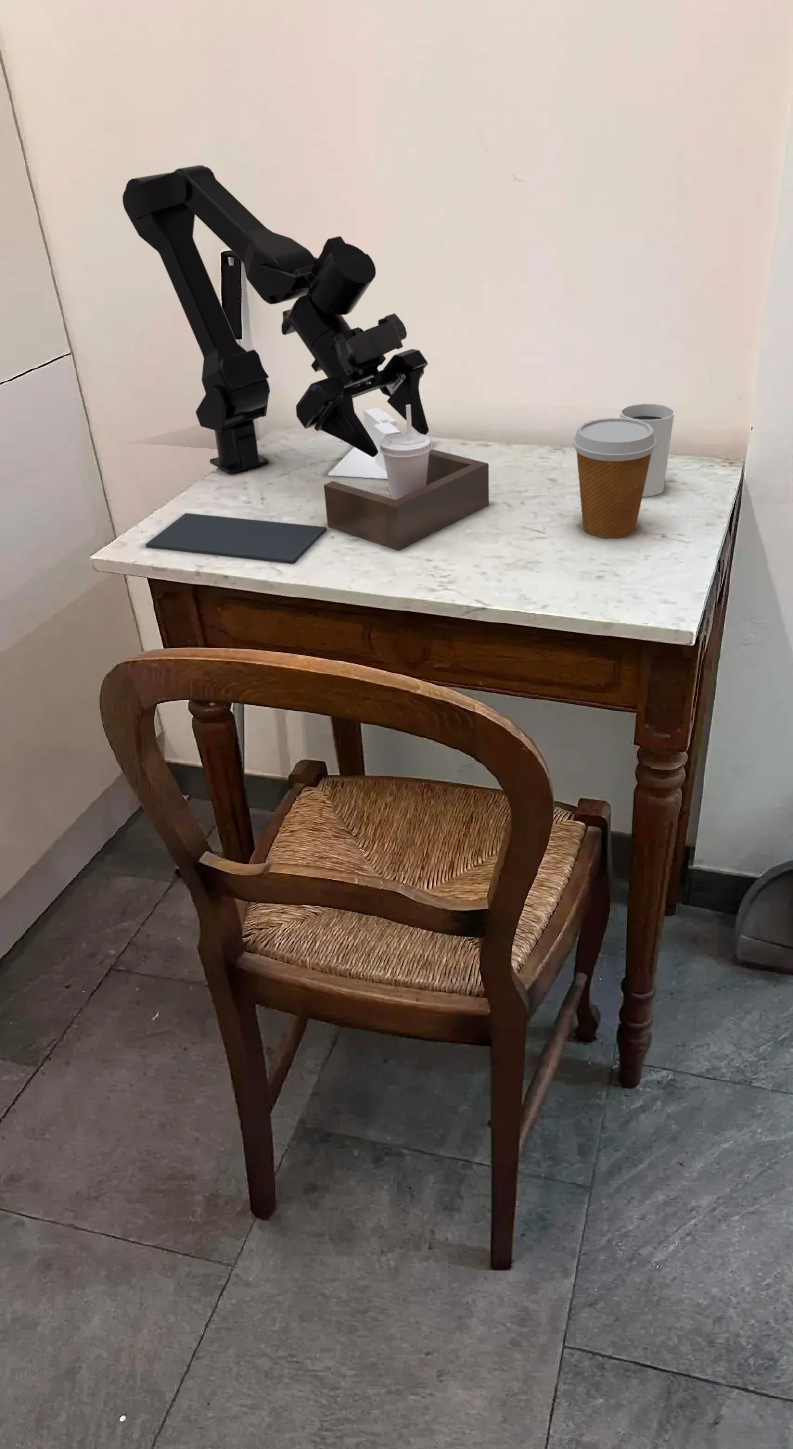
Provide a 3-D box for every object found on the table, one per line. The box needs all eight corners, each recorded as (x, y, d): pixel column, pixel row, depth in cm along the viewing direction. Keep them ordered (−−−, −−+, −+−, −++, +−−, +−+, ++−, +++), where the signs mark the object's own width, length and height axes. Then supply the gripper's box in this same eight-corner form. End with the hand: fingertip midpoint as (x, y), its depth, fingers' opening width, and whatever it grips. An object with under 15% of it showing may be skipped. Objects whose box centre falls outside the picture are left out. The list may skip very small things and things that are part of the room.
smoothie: (429, 526, 131) (425, 414, 124) (378, 524, 133) (371, 413, 125) (438, 506, 137) (434, 397, 129) (389, 505, 138) (383, 397, 130)
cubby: (327, 526, 133) (323, 484, 130) (418, 484, 143) (416, 445, 140) (399, 550, 126) (396, 507, 123) (489, 504, 136) (488, 463, 133)
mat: (145, 547, 131) (145, 544, 131) (186, 515, 138) (185, 513, 138) (293, 563, 124) (293, 560, 124) (326, 530, 132) (326, 527, 132)
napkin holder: (360, 439, 160) (357, 401, 157) (433, 443, 157) (431, 404, 154) (326, 475, 148) (322, 435, 145) (404, 480, 145) (402, 439, 142)
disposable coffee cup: (631, 549, 123) (639, 448, 116) (556, 535, 127) (559, 437, 121) (661, 519, 129) (670, 422, 123) (588, 507, 134) (593, 412, 127)
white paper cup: (646, 502, 134) (652, 424, 129) (604, 489, 138) (609, 413, 133) (678, 487, 138) (685, 410, 132) (636, 475, 142) (642, 400, 136)
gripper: (301, 312, 118) (380, 427, 118) (413, 280, 129) (485, 385, 129) (263, 373, 127) (336, 480, 127) (370, 339, 138) (438, 437, 138)
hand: (401, 444), depth 130 cm, fingers open, 9 cm apart
